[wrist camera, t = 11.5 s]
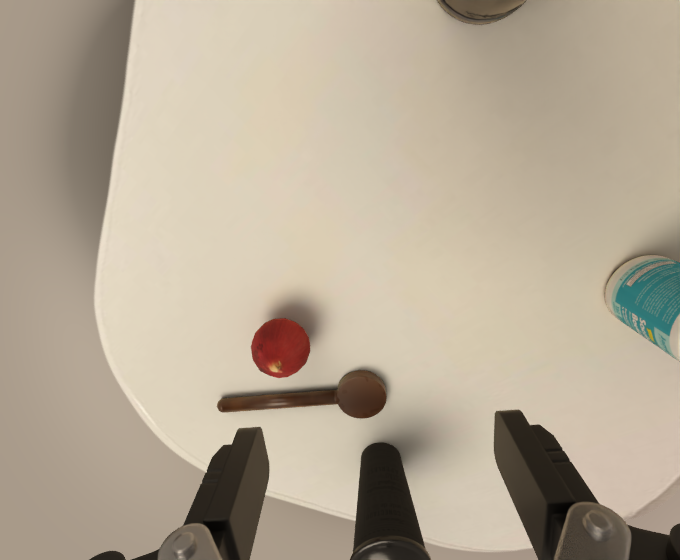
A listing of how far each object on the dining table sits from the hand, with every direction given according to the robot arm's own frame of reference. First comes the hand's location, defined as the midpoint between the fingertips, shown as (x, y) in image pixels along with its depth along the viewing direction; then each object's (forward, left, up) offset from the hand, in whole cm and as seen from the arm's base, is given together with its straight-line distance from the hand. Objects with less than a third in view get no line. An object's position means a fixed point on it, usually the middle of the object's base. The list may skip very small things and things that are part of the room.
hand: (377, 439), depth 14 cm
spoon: (+18, -9, -28) cm, 35 cm away
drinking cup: (+28, 0, -28) cm, 40 cm away
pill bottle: (+8, +28, -28) cm, 41 cm away
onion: (+10, -9, -28) cm, 31 cm away
